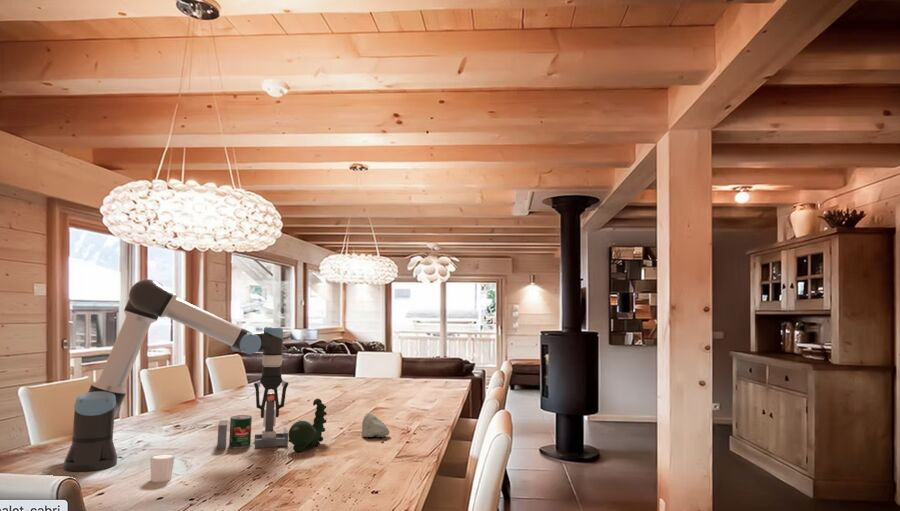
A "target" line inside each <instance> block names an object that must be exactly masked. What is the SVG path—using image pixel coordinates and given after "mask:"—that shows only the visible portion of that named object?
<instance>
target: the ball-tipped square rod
mask: <svg viewBox="0 0 900 511" xmlns="http://www.w3.org/2000/svg"><path fill="white" fill-rule="evenodd" d="M275 405H276V404H275V395H274V392H270V393H269V392H268V393H267V398H266V403H265V409H266V425H265V427H263V428H262V429H261V434H262V439H271V438H276V433H277V430H276V427H274V426H273V425H274V408H275Z"/></svg>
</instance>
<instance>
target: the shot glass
mask: <svg viewBox="0 0 900 511" xmlns="http://www.w3.org/2000/svg"><path fill="white" fill-rule="evenodd" d="M149 460H150V461H149V464H150V482H153V483H163V482H168V481H170V480H171V479H172V477H173V476H172V475H173V468H174V463H175V455H174V454H172V453H161V454H155V455H151V456H150V458H149Z"/></svg>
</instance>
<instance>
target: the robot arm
mask: <svg viewBox="0 0 900 511" xmlns="http://www.w3.org/2000/svg"><path fill="white" fill-rule="evenodd" d="M123 312H124V314H125V319H124V321H123V323H122V325H121V327H120V330H119V332H118V335H117V337H116V340H115V342H114V344H113V346H112V349H111V350H110V353H109V355H108V357H107V360H106V362H105V365H104V367H103V368H102V371H101V373H100V376H99V378H98V380H96V381H94V382H92V383H91V384H90V386H89V389H88V391H87V392H86V393H82V394H80V395H78V396H77V397H76V398H75V402H74V406H73V408H74V412H73V413H74V415H73V423H72V424H73V425H72V426H73V427H72V437H71V439H72V440H71V445H70V446H69V449H68V452H67V454H66V456H65V458H64V461H63V470H64V471H67V472H68V471H70V472H90V471H98V470H103V469H107V468H111V467H113V466H115V465H116V464H117V463H118V455H117V450H116V448H115V447H116V446H115V444H114V439H113V438H114V426H115V419H116V418H117V416H118V415H119V414H120V411H121V409H122V404H123V402H124V400H125V396H126V394H127V390H126V388H125V385H126V384H127V381H128V378H129V376H130V374H131V371H132V369H133V367H134V364H135V362H136V360H137V357H138V355H139V352H140V351H141V348H142V345H143V343H144V340H145V339H146V336H147V334H148V332H149V329H150V327H151V324H152V323H155V322H157V321H158V319H159V318H166V317H167V318H168V319H170V320H173V321H175V322H178V323H180V324H182V325H184V326H186V327H188V328H190V329H193V330H195V331H197V332H199V333H201V334H204V335H205V336H208V337H210V338H213V339H214V340H217V341H219V342H222V343H224V344H226V345H228V346H230V347H231V351H232V352H239V353H240V352H242V353H244V354H245V355H252V354H256V353H257V352H262V359H261V360H262V363H261V364H262V368H261V378H260V379H259V380H258V381H256V382H254V383H253V386H254V389H255V404H256V406H255V407H256V409H260V418H261V419H263V421H262V422H263V424H262V427H263V428H265V425H266V398H267V394H269V390H272V391H273V394H274V395H275V401H274V402H275V404H274V405H275V407H274V425H273V427H276V423H277V422H276V420H277V419H276V418H279V416H280V409H281V408H284V407H285V402H286V394H287V393H286V392H287V388H288V385H289V382H288V381H285V380H283V378H282V374H283V372H282V370H283V368H282V364H283V348H284V346H283V345H284V329H283V328H282V327H281V326H264V329H263V330H262V331H250V330H247V329H245V328H243V327H241V326H239V325H237V324H235V323H232V322H230V321H229V320H226V319H224V318H222V317H219V316H217V315H215V314H213V313H211V312H209V311H207V310H204V309H202V308H200V307H198V306H197V305H194V304H191V303H190V302H187V301H185V300H183V299H182V298H179V297H178V296H177V294H176V292H173V291H171V290H170V289H168V288H166V287H165V286H164V285H163V284H162V283H160V282H158V281H156V280H153V279H142V280H139V281H137V282H136V283H134V284H133V285H132V286H131V287H130V290H129V293H128V300H127V302H126V305H125V307H124V310H123ZM261 385H262V387H263V388H264V392H263V396H262V401H260V387H261ZM280 385H281V386H282V390H281V400H280V402H279V394H278V388H279V386H280ZM260 402H261V404H260ZM117 465H118V464H117Z"/></svg>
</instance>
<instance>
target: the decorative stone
mask: <svg viewBox="0 0 900 511" xmlns="http://www.w3.org/2000/svg"><path fill="white" fill-rule="evenodd" d="M361 426H362V428H361V437H362V438H365V437H370V438H373V437H374V438H379V437H382V438H385V437H386V436H389V434H390V430H389V428H388V426H387V425H386V424H385V423H384V422H383V421H382V420H381V419H380V418H378V417H377V416H376V415H374V414H372V413H366V414H365V416H364V417H363V419H362V423H361ZM375 436H376V437H375Z"/></svg>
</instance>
